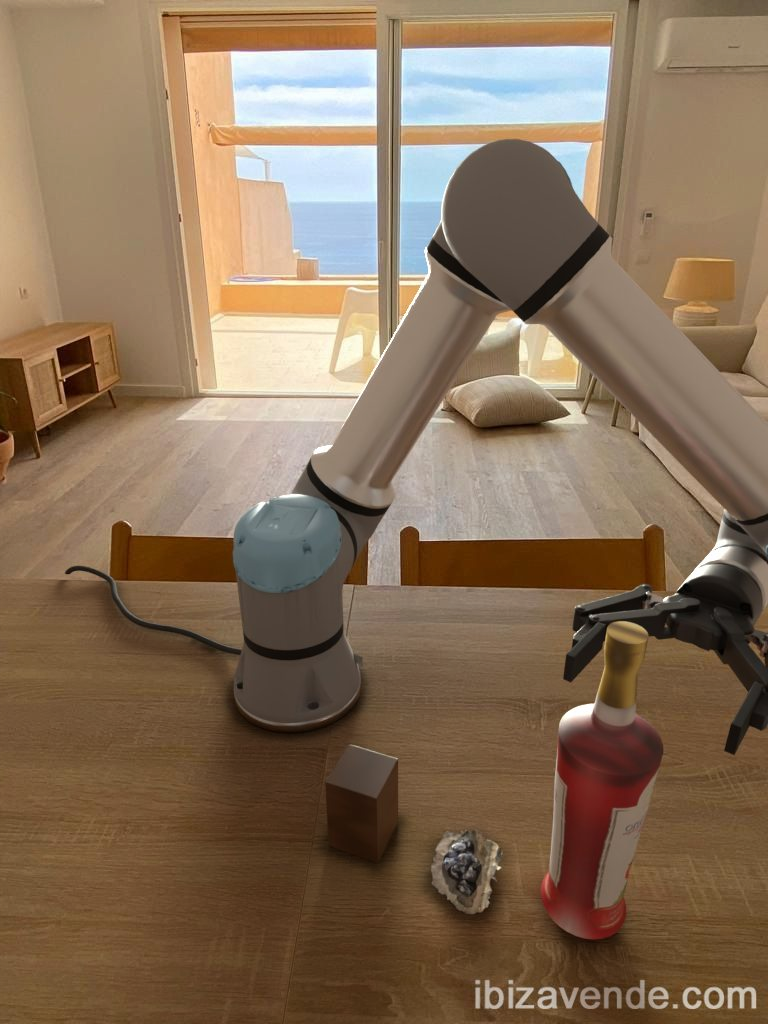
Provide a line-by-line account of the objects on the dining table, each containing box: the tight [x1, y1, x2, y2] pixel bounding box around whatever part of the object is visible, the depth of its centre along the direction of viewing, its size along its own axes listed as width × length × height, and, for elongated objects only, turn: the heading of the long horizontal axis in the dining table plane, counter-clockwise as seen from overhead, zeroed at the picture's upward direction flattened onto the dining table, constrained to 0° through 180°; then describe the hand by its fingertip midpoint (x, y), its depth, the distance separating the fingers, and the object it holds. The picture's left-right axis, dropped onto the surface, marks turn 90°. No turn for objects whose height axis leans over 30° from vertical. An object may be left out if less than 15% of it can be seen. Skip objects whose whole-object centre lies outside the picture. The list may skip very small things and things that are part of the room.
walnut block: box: [324, 743, 399, 864], centre depth 64 cm, size 5×5×8 cm
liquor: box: [540, 621, 664, 940], centre depth 53 cm, size 7×7×28 cm
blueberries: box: [430, 828, 504, 916], centre depth 61 cm, size 7×8×2 cm
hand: (644, 701), depth 57 cm, fingers open, 13 cm apart
